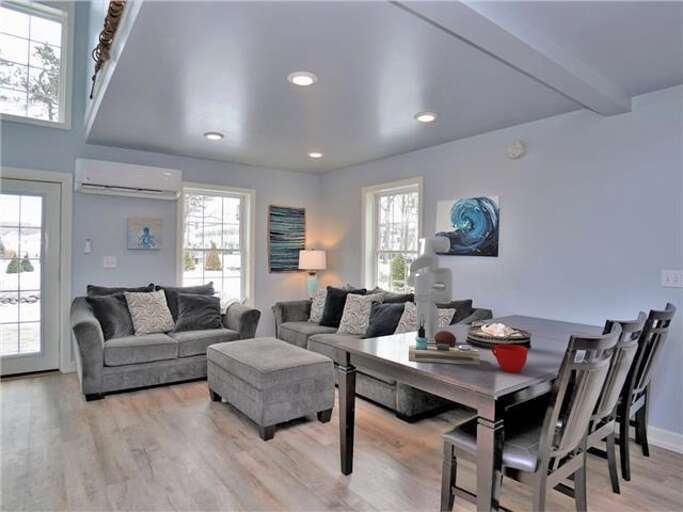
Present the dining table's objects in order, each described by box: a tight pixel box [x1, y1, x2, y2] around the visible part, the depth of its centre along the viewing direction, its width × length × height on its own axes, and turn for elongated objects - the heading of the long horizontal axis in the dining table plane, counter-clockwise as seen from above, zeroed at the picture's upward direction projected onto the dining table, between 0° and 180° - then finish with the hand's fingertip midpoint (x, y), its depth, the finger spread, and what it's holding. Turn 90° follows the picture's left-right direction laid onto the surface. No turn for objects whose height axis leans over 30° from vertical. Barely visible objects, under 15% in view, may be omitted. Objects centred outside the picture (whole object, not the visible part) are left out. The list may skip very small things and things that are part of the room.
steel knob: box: [457, 344, 473, 352], centre depth 197 cm, size 6×6×6 cm
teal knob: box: [414, 336, 428, 350], centre depth 201 cm, size 6×6×6 cm
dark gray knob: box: [437, 344, 450, 351], centre depth 199 cm, size 6×6×6 cm
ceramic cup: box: [491, 343, 528, 373], centre depth 184 cm, size 13×17×10 cm
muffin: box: [434, 330, 457, 348], centre depth 218 cm, size 12×11×10 cm
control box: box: [408, 345, 481, 366], centre depth 199 cm, size 10×32×5 cm, turn 79°
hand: (421, 337), depth 200 cm, fingers closed
